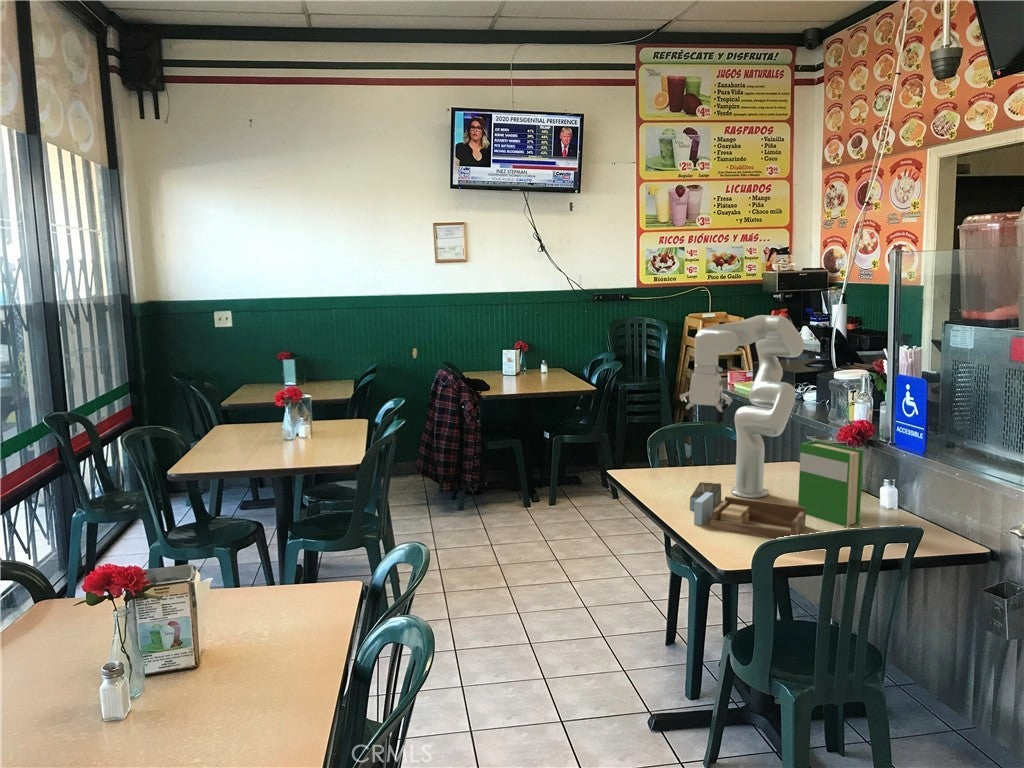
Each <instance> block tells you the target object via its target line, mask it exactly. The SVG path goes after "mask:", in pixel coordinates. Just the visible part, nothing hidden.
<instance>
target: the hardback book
mask: <svg viewBox="0 0 1024 768" xmlns="http://www.w3.org/2000/svg"><path fill="white" fill-rule="evenodd" d="M863 462H864V450H863V449H859V448H858V449H857V448H854V447H853V448H852V447H849V446H843V445H839V444H835V443H830V442H825V441H821V440H810V441H805V442H801V443H800V455H799V477H798V478H799V479H798V501H797V503H798V505H797V506H801V507H806V516H809V517H810V516H811V517H813V518H817V519H821V520H823V521H827V522H830V523H833V524H836V525H840V526H843V527H844V528H846V529H847V526H849V525H854V524H857V525H856V526H860V519H861V503H862V502H861V501H862V482H863V481H862V480H863V465H864V463H863ZM844 528H843V529H844Z"/></svg>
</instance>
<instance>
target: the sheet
mask: <svg viewBox="0 0 1024 768" xmlns="http://www.w3.org/2000/svg"><path fill="white" fill-rule="evenodd" d="M712 511H713V493H709V492H706V493H704V494H703V495H702V496H701V497H699V498H698V499H697V500H696V501H694V511H693V525H695V526H703V525H704V524H705V523H707V522H708V520H709V519H710V518H712Z"/></svg>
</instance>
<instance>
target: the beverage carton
mask: <svg viewBox="0 0 1024 768" xmlns="http://www.w3.org/2000/svg"><path fill="white" fill-rule="evenodd" d="M706 492H709V493H713V510H714V509H716V508H717V507H718V506H719V503H721V501H722V483H719V482H718V483H715V482H714V483H713V482H701V481H700V482H699V484H698V485H697V486H696V488H695V489H694V491H693V492H692V494H691V496H690V497H689V510H690V511H693V512H694V501H696V500H697V499H698V498H699V497H701V496H702V495H703V494H704V493H706Z"/></svg>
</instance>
